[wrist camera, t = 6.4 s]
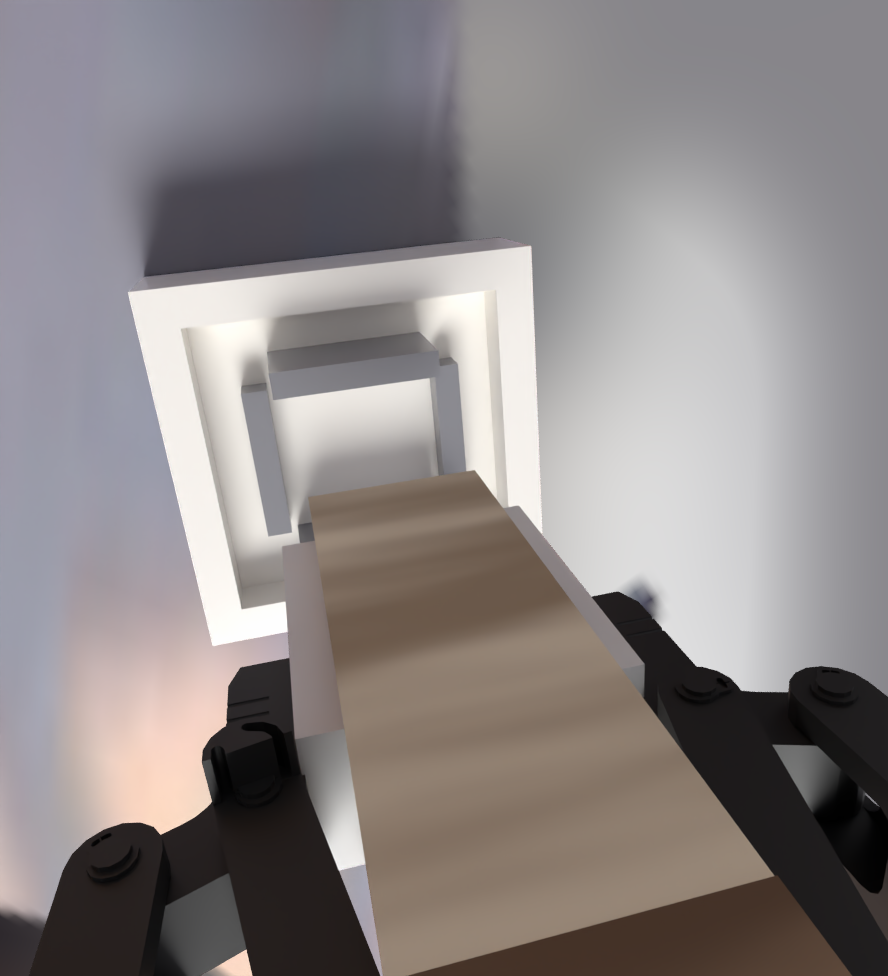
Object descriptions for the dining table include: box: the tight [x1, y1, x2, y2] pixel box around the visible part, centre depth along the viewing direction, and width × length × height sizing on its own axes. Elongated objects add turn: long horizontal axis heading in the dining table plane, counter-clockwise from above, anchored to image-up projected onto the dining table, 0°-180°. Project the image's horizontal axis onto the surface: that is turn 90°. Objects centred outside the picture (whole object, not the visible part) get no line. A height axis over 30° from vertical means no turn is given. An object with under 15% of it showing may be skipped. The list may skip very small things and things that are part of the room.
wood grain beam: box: [308, 470, 852, 976], centre depth 13 cm, size 4×4×14 cm
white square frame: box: [128, 237, 542, 646], centre depth 26 cm, size 12×12×5 cm
